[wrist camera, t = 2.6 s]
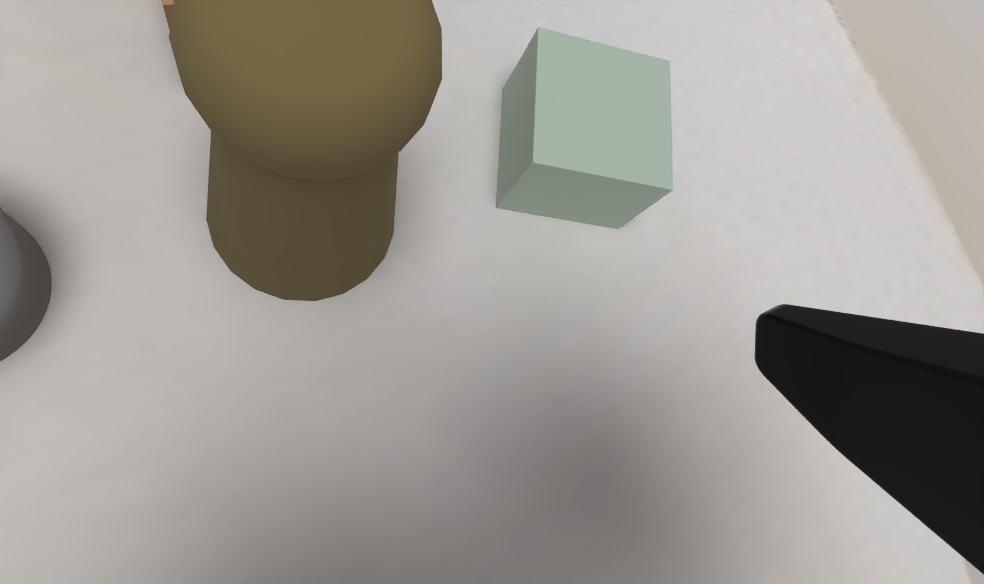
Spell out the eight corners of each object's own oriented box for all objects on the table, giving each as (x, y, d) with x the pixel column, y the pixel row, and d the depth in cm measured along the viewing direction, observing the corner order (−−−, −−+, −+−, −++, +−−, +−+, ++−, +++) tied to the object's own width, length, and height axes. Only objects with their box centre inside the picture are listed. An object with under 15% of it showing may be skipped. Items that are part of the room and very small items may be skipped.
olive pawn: (310, 99, 22) (327, -199, 12) (429, 224, 23) (543, 31, 13) (163, 201, 20) (35, -61, 10) (297, 339, 20) (304, 218, 10)
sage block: (616, 117, 26) (669, 61, 23) (616, 230, 25) (672, 190, 21) (501, 91, 25) (538, 27, 21) (494, 209, 24) (532, 162, 20)
